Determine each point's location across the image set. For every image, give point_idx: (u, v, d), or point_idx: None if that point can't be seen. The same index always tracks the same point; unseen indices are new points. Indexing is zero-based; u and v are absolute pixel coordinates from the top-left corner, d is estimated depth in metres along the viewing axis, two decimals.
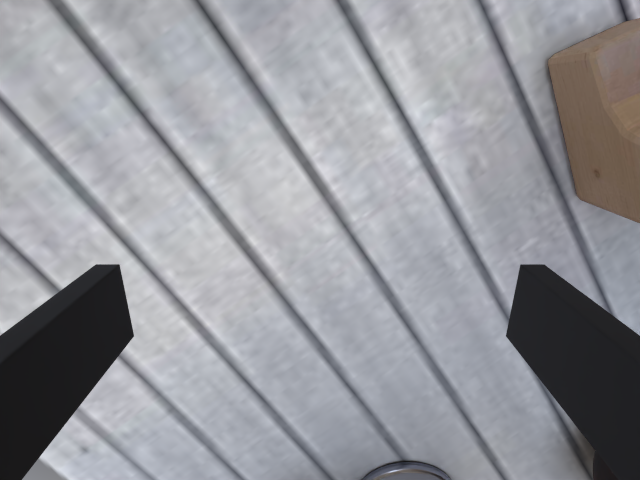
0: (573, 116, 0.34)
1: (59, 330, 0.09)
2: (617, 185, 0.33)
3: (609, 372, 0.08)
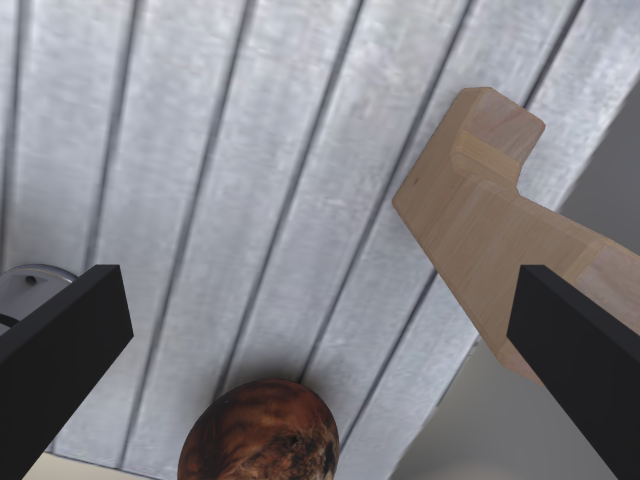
0: (440, 134, 0.40)
1: (59, 330, 0.09)
2: (418, 191, 0.38)
3: (609, 372, 0.08)
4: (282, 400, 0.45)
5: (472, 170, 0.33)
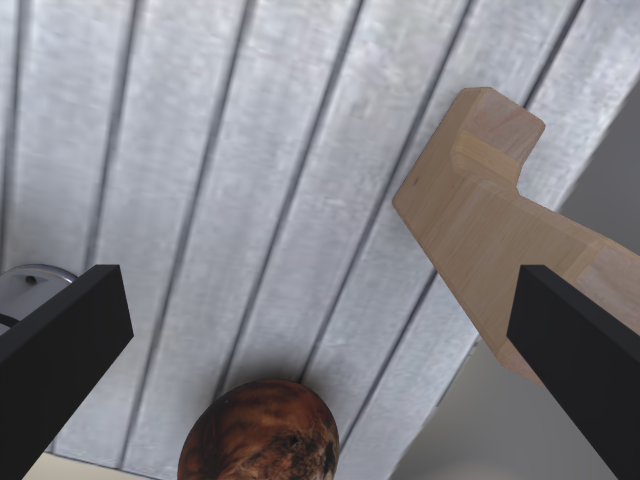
0: (440, 134, 0.40)
1: (59, 330, 0.09)
2: (418, 191, 0.38)
3: (609, 372, 0.08)
4: (282, 400, 0.45)
5: (472, 170, 0.33)
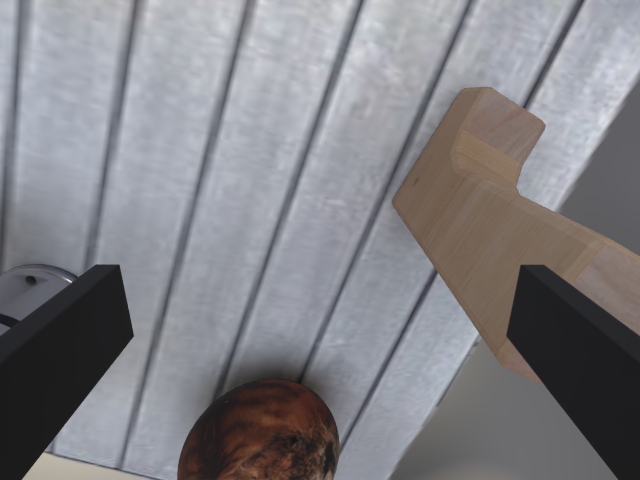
0: (440, 134, 0.40)
1: (59, 330, 0.09)
2: (418, 191, 0.38)
3: (609, 372, 0.08)
4: (282, 400, 0.45)
5: (472, 170, 0.33)
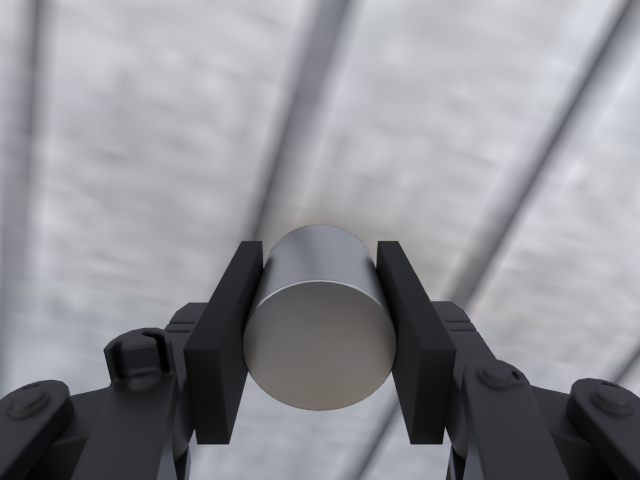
0: None
1: (248, 289, 0.11)
2: None
3: (398, 319, 0.10)
4: None
5: None
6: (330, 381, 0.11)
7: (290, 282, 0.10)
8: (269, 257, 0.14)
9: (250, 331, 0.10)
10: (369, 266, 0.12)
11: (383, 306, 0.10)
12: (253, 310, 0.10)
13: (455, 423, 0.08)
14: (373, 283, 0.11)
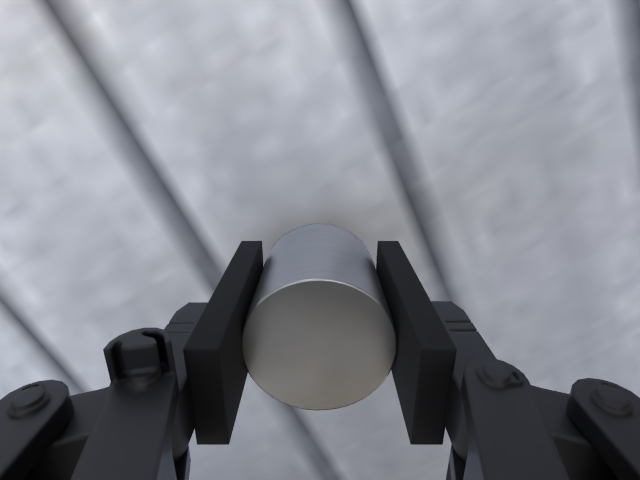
0: None
1: (248, 289, 0.11)
2: None
3: (398, 320, 0.10)
4: None
5: None
6: (329, 381, 0.11)
7: (289, 282, 0.10)
8: (268, 256, 0.14)
9: (249, 330, 0.10)
10: (368, 265, 0.12)
11: (382, 305, 0.10)
12: (252, 309, 0.10)
13: (455, 423, 0.08)
14: (372, 282, 0.11)
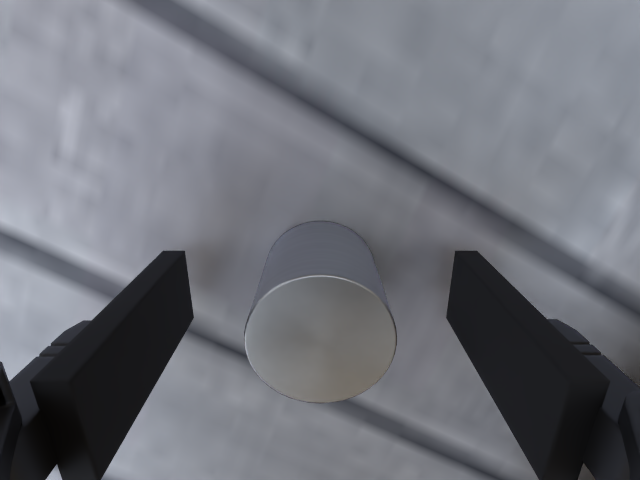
0: None
1: (148, 306, 0.10)
2: None
3: (508, 341, 0.09)
4: None
5: None
6: (330, 374, 0.11)
7: (291, 278, 0.10)
8: (270, 253, 0.14)
9: (252, 325, 0.11)
10: (369, 262, 0.13)
11: (382, 301, 0.10)
12: (255, 305, 0.10)
13: (605, 457, 0.07)
14: (373, 278, 0.11)
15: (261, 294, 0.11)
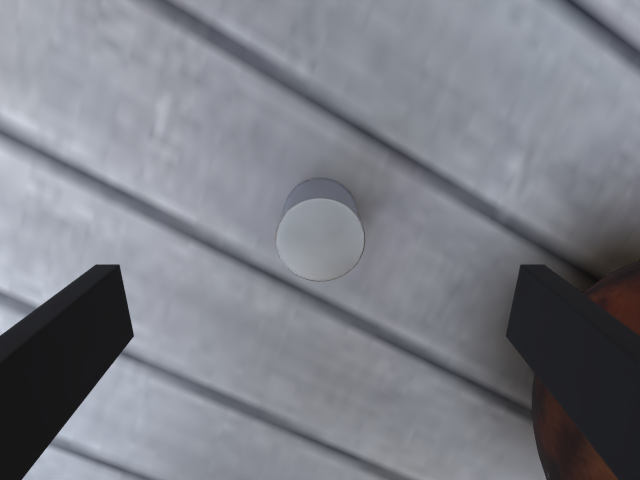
0: None
1: (59, 330, 0.09)
2: None
3: (609, 372, 0.08)
4: None
5: None
6: (326, 261, 0.19)
7: (304, 200, 0.18)
8: (288, 198, 0.22)
9: (281, 229, 0.18)
10: (350, 199, 0.20)
11: (356, 214, 0.18)
12: (283, 217, 0.18)
13: None
14: (351, 205, 0.19)
15: (286, 211, 0.18)
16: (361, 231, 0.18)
